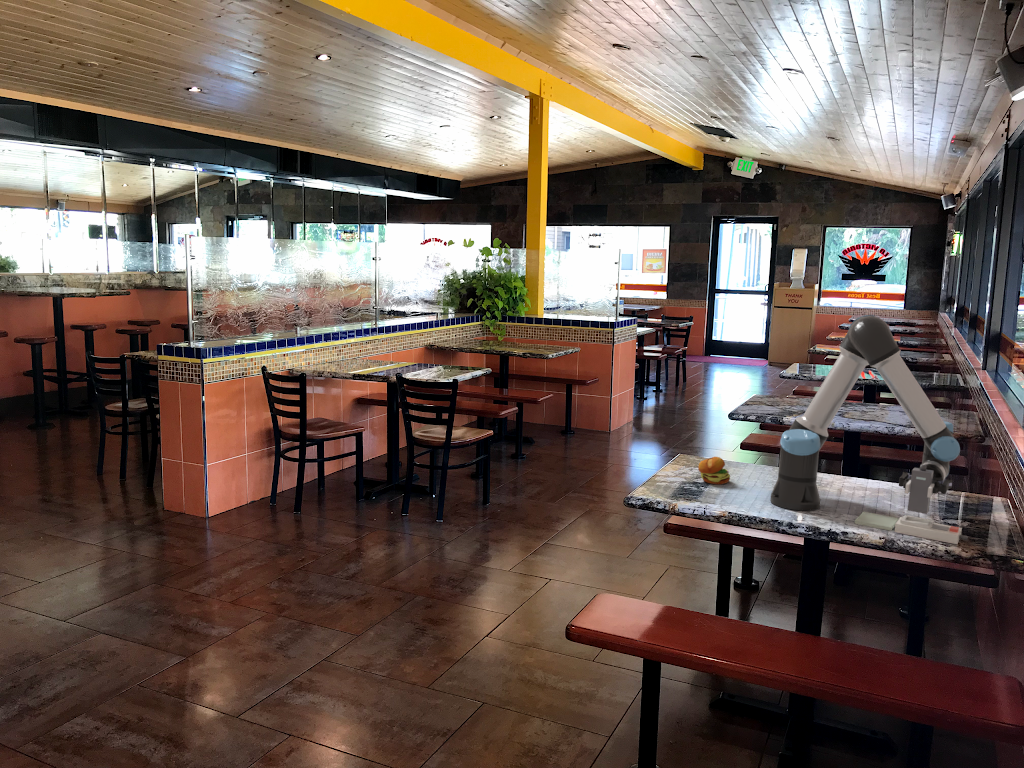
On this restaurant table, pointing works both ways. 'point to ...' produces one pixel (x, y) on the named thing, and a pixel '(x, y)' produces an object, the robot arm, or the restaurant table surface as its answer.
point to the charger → (920, 490)
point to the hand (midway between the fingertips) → (917, 490)
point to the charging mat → (876, 521)
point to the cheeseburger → (714, 471)
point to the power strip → (928, 529)
